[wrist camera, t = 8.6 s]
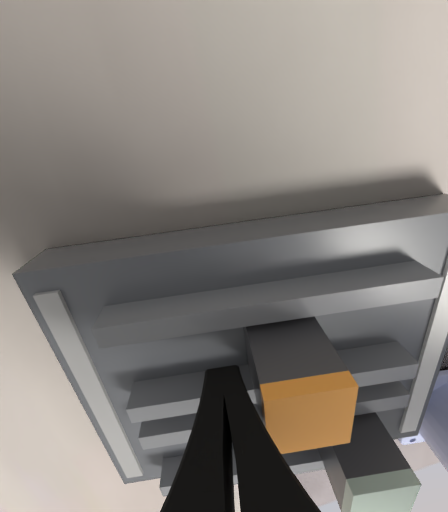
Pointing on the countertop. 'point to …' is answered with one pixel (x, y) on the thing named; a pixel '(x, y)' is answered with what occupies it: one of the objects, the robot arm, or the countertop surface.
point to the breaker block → (249, 314)
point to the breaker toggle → (300, 385)
